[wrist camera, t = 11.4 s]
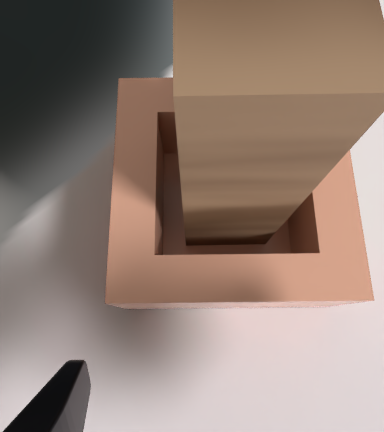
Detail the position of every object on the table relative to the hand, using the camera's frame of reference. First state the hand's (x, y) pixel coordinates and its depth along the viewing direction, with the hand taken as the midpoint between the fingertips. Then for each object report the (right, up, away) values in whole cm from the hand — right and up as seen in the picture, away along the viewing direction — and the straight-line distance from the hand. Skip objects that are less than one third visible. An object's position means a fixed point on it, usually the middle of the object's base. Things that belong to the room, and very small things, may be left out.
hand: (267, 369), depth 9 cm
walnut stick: (0, +4, +10) cm, 10 cm away
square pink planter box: (0, +4, +10) cm, 11 cm away
